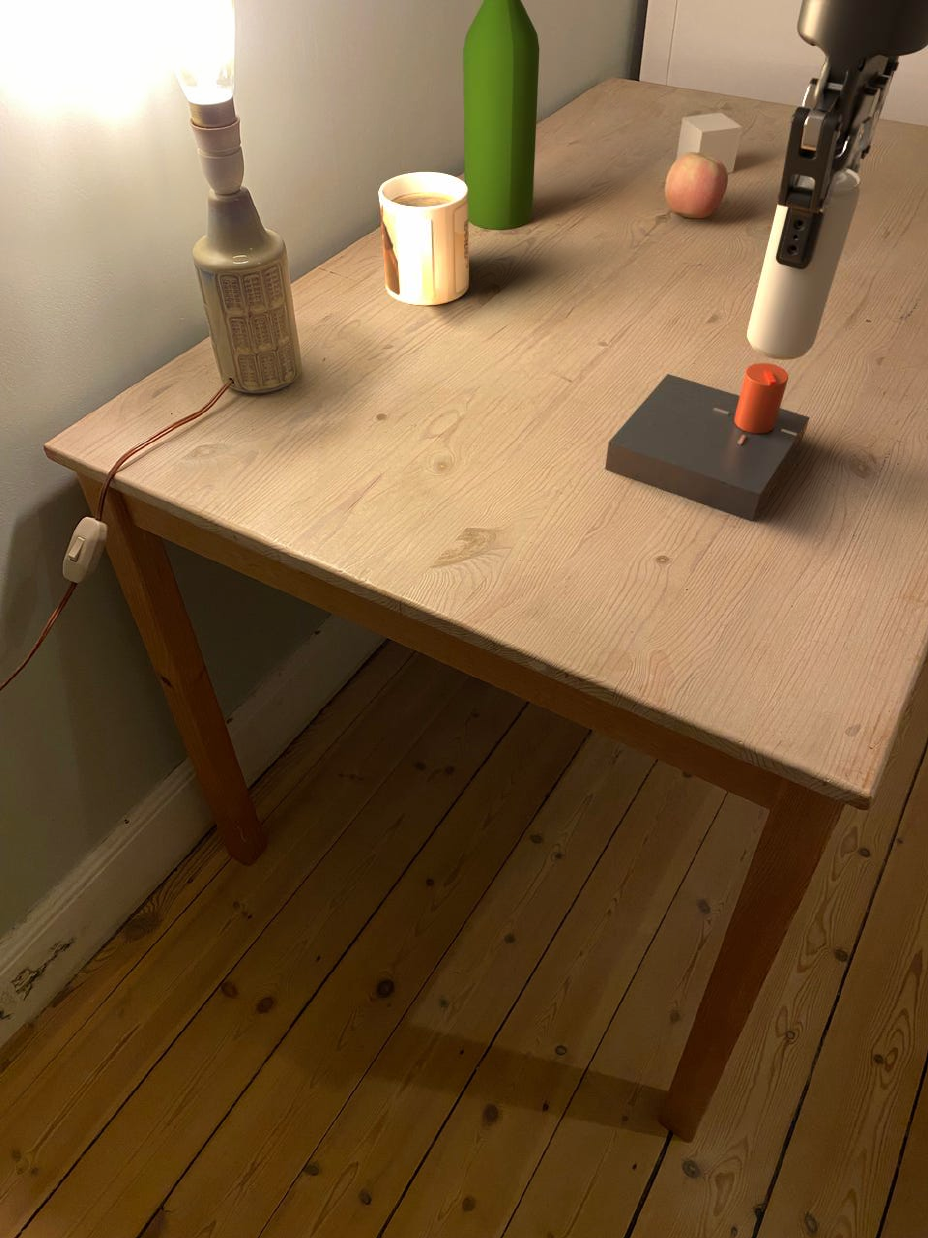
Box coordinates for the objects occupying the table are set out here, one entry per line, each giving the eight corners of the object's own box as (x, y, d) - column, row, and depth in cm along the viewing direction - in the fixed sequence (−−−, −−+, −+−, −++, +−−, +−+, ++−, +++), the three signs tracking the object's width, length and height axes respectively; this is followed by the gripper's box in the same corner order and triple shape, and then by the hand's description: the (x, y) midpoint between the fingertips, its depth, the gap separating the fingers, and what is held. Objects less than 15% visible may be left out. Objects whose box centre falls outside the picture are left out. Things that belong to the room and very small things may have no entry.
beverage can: (731, 337, 68) (769, 169, 59) (784, 322, 69) (828, 156, 60) (772, 369, 65) (819, 197, 56) (826, 353, 66) (880, 183, 57)
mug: (490, 281, 108) (491, 184, 100) (431, 324, 101) (427, 225, 93) (418, 258, 112) (413, 164, 104) (357, 299, 105) (347, 201, 97)
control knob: (730, 411, 84) (742, 360, 80) (768, 410, 84) (782, 358, 80) (739, 434, 81) (752, 382, 78) (779, 433, 81) (794, 381, 78)
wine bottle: (546, 214, 120) (563, -96, 97) (501, 236, 116) (507, -82, 92) (496, 195, 125) (500, -105, 101) (450, 216, 120) (444, -93, 96)
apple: (725, 231, 116) (738, 166, 110) (664, 231, 116) (674, 166, 111) (714, 205, 122) (726, 141, 116) (657, 205, 122) (666, 142, 116)
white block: (694, 177, 128) (702, 131, 124) (675, 161, 132) (682, 116, 128) (733, 172, 129) (741, 126, 125) (713, 156, 133) (721, 111, 129)
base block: (802, 441, 86) (811, 413, 83) (752, 521, 78) (760, 492, 76) (664, 398, 91) (669, 370, 89) (604, 468, 83) (608, 440, 81)
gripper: (928, -23, 44) (828, 308, 56) (989, -78, 52) (889, 221, 64) (776, -41, 46) (712, 278, 59) (856, -91, 55) (785, 198, 67)
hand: (805, 247), depth 62 cm, fingers closed on beverage can, 5 cm apart
